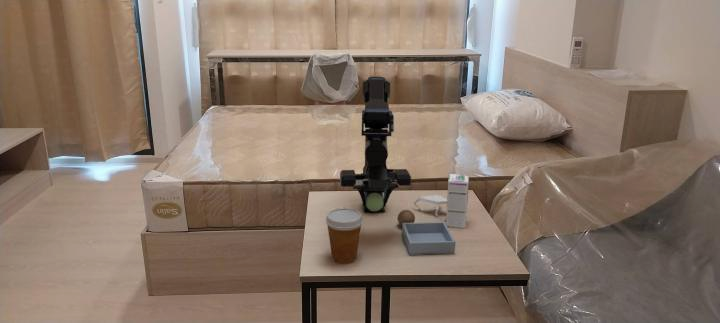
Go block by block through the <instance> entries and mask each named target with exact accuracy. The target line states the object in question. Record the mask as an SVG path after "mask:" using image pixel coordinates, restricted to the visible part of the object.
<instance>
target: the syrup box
mask: <svg viewBox="0 0 720 323" xmlns="http://www.w3.org/2000/svg"><path fill="white" fill-rule="evenodd" d="M469 177H470V176H469V175H468V174H459V173H450V174H449V176H448V183H447V198H446V199H447V204H446V213H445V215H446V217H445V224H446V225H447V227H449V228H450V227H451V228H459V229H465V228H466V224H467V213H468V199H469V179H470V178H469Z"/></svg>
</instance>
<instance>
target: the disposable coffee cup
mask: <svg viewBox="0 0 720 323" xmlns="http://www.w3.org/2000/svg"><path fill="white" fill-rule="evenodd" d="M324 220H325V223H326V225H327V231H328V238H329V245H330V254H331V258H332V260H333V261H334V262H335V263H337V264H350V263H353V262H354V261H356V259H357V255H358V249H359V243H360V237H361V235H360V234H361V229H362V228H361V227H362V225H363V223H364V217H363V215H362V213H361V212H360V211H358V210H357V209H354V208H350V207H349V208H348V207H347V208H346V207H342V208H341V207H339V208H335V209H332V210H330V211H329V212H328V213H327V214H326V217H325V219H324Z"/></svg>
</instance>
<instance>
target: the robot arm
mask: <svg viewBox="0 0 720 323" xmlns="http://www.w3.org/2000/svg"><path fill="white" fill-rule="evenodd" d="M361 84H362V86H361V87H362V88H361V89H362V90H361V92H362V93H361V94H362V96H361V97H362V98H364V99H363V100H364V109H363V110H362V112H361V136H362V137H363V136H364V140H365V141H364V166H363V168H362V172H360V173H356V172H355V169H341V171H339V172H340V173H339V183H340V186H341V187H343V188H345V187H350V188H351V187H352V188H353V189H354V190H357V191H358V192H357V193H359V196H360V199H361V201H362V203H361V204H362V208H363V213H385V212H386V210H385V208H386V206H387V203H388V201H389V198H390V196H391V194H392V192H393V191H394V190H395V189H398V188H399V186H411V185H412V176H411V174H410V172H409V170H408V169H406V168H388V167H387V160H388V156H389V152H388V137H392V133H394V130H395V129H394V128H395V127H394V126H395V122H394V121H395V120H394V119H395V118H394V114H393V111H392V110H390V108H389V106H390V105H389V103H388V99H390V97H391V82H390V81H388V80H386V77H384V76H369V77H368V79H366V80H364V81H363V82H362V83H361ZM371 193H378V194H380V195H381V196H382V198H383V200H384V204H383V207H382V208H381V209H380V210H378V211H371V210H369V209H368V208H367V206H366V198H367V196H368V195H369V194H371Z"/></svg>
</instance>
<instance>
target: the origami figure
mask: <svg viewBox="0 0 720 323" xmlns="http://www.w3.org/2000/svg"><path fill="white" fill-rule="evenodd" d="M420 201H423V202H426V203H431V204H435V206H434V208H435V214H434V215H435V217H436V218H437V217H438V216H439V215H438V212H439V210H440V207H439V206H440V205H442V204H446V205H447V198H446V197H443V196H441V195H440V194H434V195H425V196H418V198H417V199H416V200H414V201H413V202H412V203H413V205H414V206H415V207H417V209H418V211H420V210H421V208H420V207H419V205H418V204H417V203H418V202H420Z"/></svg>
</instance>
